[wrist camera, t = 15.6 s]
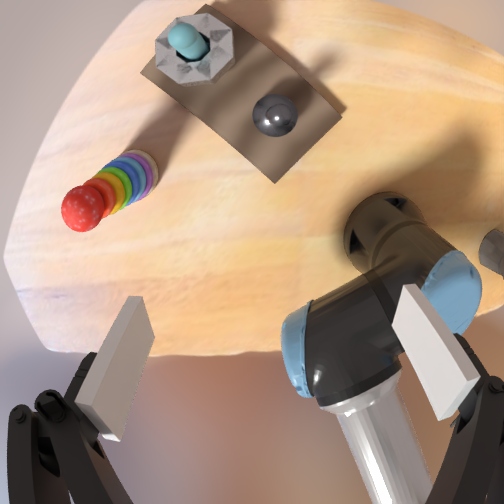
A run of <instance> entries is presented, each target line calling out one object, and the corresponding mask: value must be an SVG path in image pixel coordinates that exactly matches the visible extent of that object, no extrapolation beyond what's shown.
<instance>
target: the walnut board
mask: <svg viewBox="0 0 504 504" xmlns="http://www.w3.org/2000/svg"><path fill="white" fill-rule="evenodd" d="M204 13H209V14H210V15H212V16H213V17H215V18H216V19H218V20H219V21H221V22H222V23H224V24H225V25H227V26H228V27H229V28H231V29H232V31H233V36H234V54H235V64H234V65H233V66H232V67H231V68H230V69H229V70H228V71H227V72H226V73H225V74H224V75H223V76H222V77H221V78H220V79H219V80H218V81H217V82H216V83H215V84H206V85H197V86H189V87H185V86H182V85H180V84H178V83H177V82H175V81H174V80H173V79H171V78H170V77H169V76H167V75H166V74H165V73H163V72H162V71H161V70H159V69H158V68H156V54H155V56H154V57H153V58H152V59H151V60H150V61H149V63H148V64H147V65H146V66H145V67H144V69H143V70H142V71H141V72H140V73H141V74H142V75H143V76H145V77H146V78H147V79H149V80H150V81H151V82H153V83H154V84H155V85H157V86H158V87H159V88H161V89H162V90H163V91H165V92H166V93H167V94H169V95H170V96H171V97H172V98H174V99H175V100H176V101H178V102H179V103H180V104H181V105H183V106H184V107H185V108H186V109H188V110H189V111H190V112H191V113H193V114H194V115H195V116H196V117H198V118H199V119H200V120H201V121H203V122H204V123H205V124H206V125H208V126H209V127H210V128H211V129H212V130H214V131H215V132H216V133H217V134H218V135H220V136H221V137H222V138H223V139H224V140H225V141H227V142H228V143H229V144H230V145H231V146H232V147H234V148H235V149H236V150H237V151H238V152H239V153H241V154H242V155H243V156H244V157H245V158H246V159H247V160H249V161H250V162H251V163H252V164H253V165H254V166H255V167H256V168H258V169H259V170H260V171H261V172H262V173H263V174H264V175H265V176H266V177H268V178H269V179H270V180H271V181H272V182H273V183H274V184H275V183H276V182H277V181H278V180H279V179H280V178H281V177H282V176H283V175H284V174H285V173H286V172H287V171H288V170H289V169H290V168H291V167H292V166H293V165H294V164H295V163H296V162H297V161H298V160H299V159H300V158H301V157H302V156H303V155H304V154H305V153H306V152H307V151H308V150H309V149H310V148H311V147H312V146H314V145H315V144H316V143H317V142H318V141H319V140H320V139H321V138H322V137H323V136H324V135H325V134H326V133H327V132H328V131H329V130H330V129H331V128H332V127H333V126H334V125H335V124H336V123H337V122H338V121H339V120H340V119H341V118H342V116H341V115H340V114H339V113H338V112H337V111H336V110H335V109H334V108H333V107H332V106H331V105H330V104H329V103H328V102H327V101H326V100H325V99H324V98H323V97H322V96H321V95H320V94H319V93H318V92H317V91H316V90H315V89H314V88H313V87H312V86H311V85H310V84H309V83H308V82H307V81H306V80H305V79H304V78H302V77H301V76H300V75H299V74H298V73H297V72H296V71H295V70H294V69H293V68H291V67H290V66H289V65H288V64H287V63H286V62H284V61H283V60H282V59H281V58H280V57H279V56H277V55H276V54H275V53H274V52H273V51H271V50H270V49H269V48H268V47H266V46H265V45H264V44H263V43H261V42H260V41H259V40H258V39H256V38H255V37H254V36H252V35H251V34H250V33H248V32H247V31H246V30H244V29H243V28H241V27H240V26H239V25H237V24H236V23H234V22H233V21H232V20H230V19H229V18H227V17H226V16H224V15H223V14H221V13H220V12H218V11H217V10H215V9H214V8H212V7H211V6H209V5H207V4H205V5H204V6H203V7H201V8H200V9H199V10H198V11H197V12H196V13H195V14H194V15H196V14H204ZM270 94H280V95H283V96H285V97H287V98H289V99H290V100H291V101H292V102H293V103H294V105H295V107H296V109H297V113H298V119H297V123H296V125H295V127H294V128H293V130H292V131H291V132H289V133H288V134H286V135H284V136H280V137H271V136H267V135H265V134H263V133H262V132H260V131H259V130H258V129H257V127H256V126H255V124H254V122H253V118H252V113H253V108H254V106H255V104H256V103H257V102H258V100H260V99H261V98H262V97H264V96H266V95H270Z"/></svg>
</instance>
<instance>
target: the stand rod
mask: <svg viewBox="0 0 504 504" xmlns="http://www.w3.org/2000/svg"><path fill="white" fill-rule="evenodd" d="M252 118H253V122H254V124H255V126H256V127H257V129H258V130H259V131H260V132H262V133H263V134H265V135H267V136H271V137H280V136H284V135H286V134H288V133H289V132H291V131H292V130H293V128H294V127H295V125H296V123H297V119H298V113H297V109H296V107H295V105H294V103H293V102H292V101H291V100H290V99H289V98H287V97H285V96H283V95H280V94H270V95H266V96H264V97H262V98H261V99H260V100H258V102H257V103H256V104H255V106H254V108H253V113H252Z"/></svg>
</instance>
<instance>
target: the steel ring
mask: <svg viewBox="0 0 504 504" xmlns="http://www.w3.org/2000/svg"><path fill="white" fill-rule="evenodd" d="M180 23H189V24H191V25H193V26H194V27H195V28H196V29H197V30H198V32H199V33H200V35H201V37H202V38H203V40H206V41H208V42H209V43H210V52H209V53H208V54H207V55H206V56H205V57H204V58H203V59H202V60H201V61H197V62H190V63H186V62H184V56H183V55H182V54H181V53H180V52H178V51H177V50H176V49H175V48H174V47H172V46H171V45H170V43H169V41H168V34H169V31H170V30H171V29H172V28H173V27H174V26H175V25H177V24H180ZM155 53H156V68H158V69H159V70H161V71H162V72H163V73H165V74H166V75H167V76H169V77H170V78H171V79H173V80H174V81H175V82H177V83H178V84H180V85H182V86H185V87H189V86H197V85H206V84H215V83H216V82H217V81H218V80H219V79H220V78H221V77H222V76H223V75H224V74H225V73H226V72H227V71H228V70H229V69H230V68H231V67H232V66H233V65H234V64H235V54H234V36H233V31H232V29H231V28H229V27H228V26H227V25H225V24H224V23H222V22H221V21H219V20H218V19H216V18H215V17H213V16H212V15H210V14H209V13H204V14H196V15H190V16H183V17H177V18H176V19H175V20H174V21H173V22H172V23H171V24H170V25H169V26H168V27H167V28H166V29H165V30H164V31H163V32H162V33H161V34H160V35H159V36H158V37H157V39H156V40H155Z"/></svg>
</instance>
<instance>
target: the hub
mask: <svg viewBox="0 0 504 504" xmlns="http://www.w3.org/2000/svg"><path fill="white" fill-rule="evenodd" d="M168 41H169V43H170V45H171V46H172V47H174V48H175V49H176V50H177V51H178V52H180V53H181V54H182V55H183V56H184V62H186V63H190V62H197V61H201V60H202V59H203V58H204V57H205V56H206V55H207V54H208V53H209V52H210V43H209V42H208V41H206V40H203V38H202V37H201V35H200V33H199V32H198V30H197V29H196V28H195V27H194V26H193V25H191V24H189V23H180V24H177V25H175V26H174V27H173V28H172V29H171V30H170V31H169V34H168Z"/></svg>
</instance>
